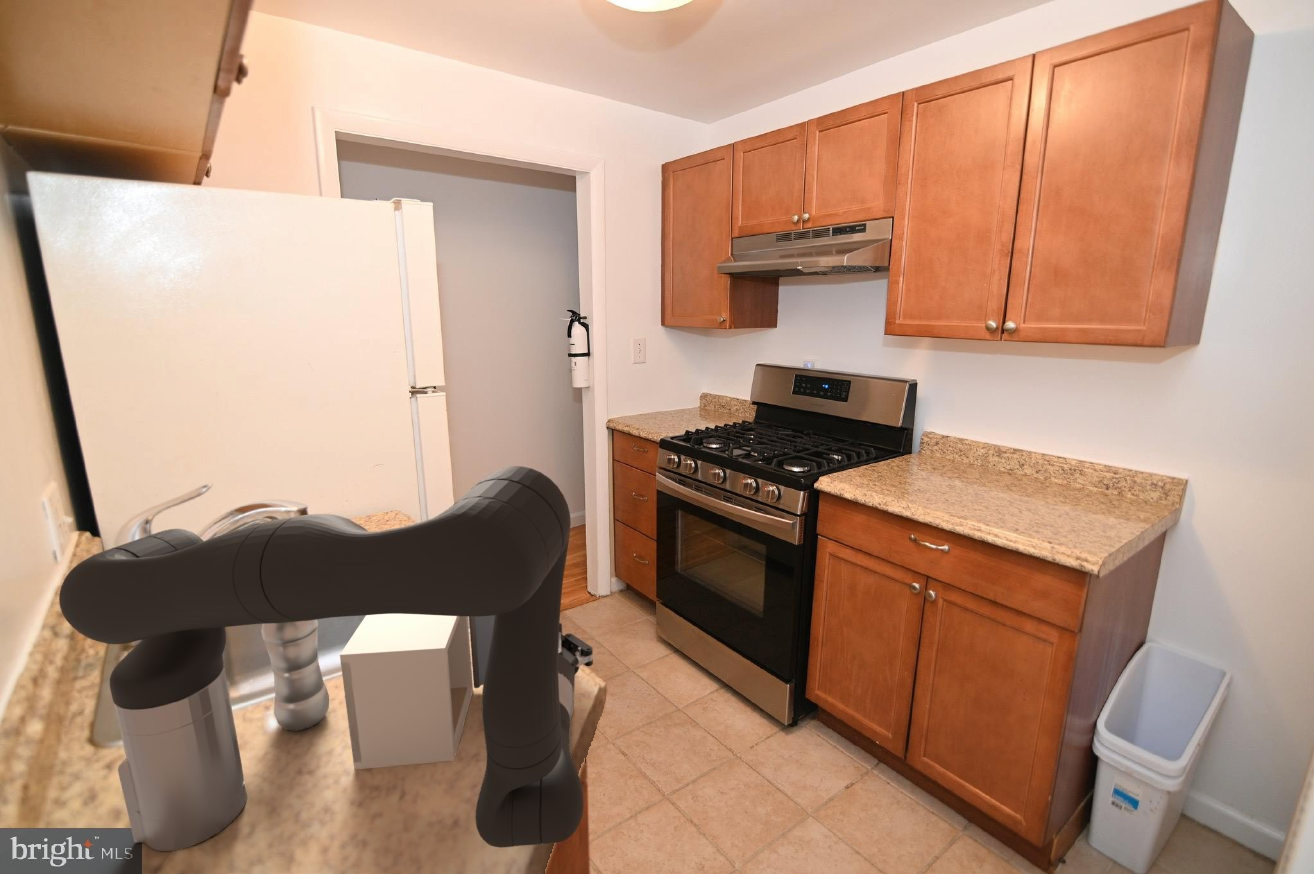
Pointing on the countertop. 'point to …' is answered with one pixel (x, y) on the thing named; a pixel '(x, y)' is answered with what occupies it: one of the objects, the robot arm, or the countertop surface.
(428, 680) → the box
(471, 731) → the countertop surface
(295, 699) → the plastic bottle
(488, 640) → the flap
